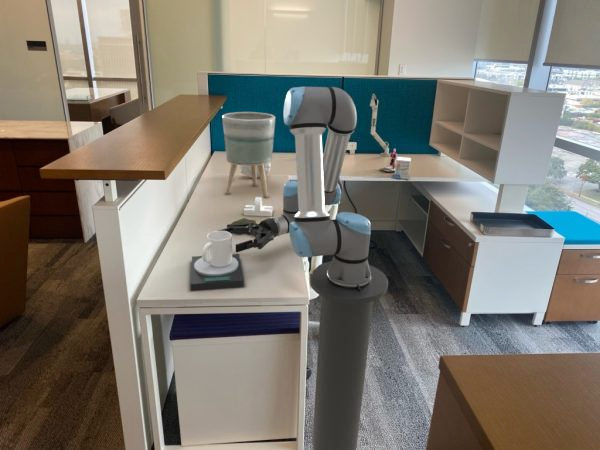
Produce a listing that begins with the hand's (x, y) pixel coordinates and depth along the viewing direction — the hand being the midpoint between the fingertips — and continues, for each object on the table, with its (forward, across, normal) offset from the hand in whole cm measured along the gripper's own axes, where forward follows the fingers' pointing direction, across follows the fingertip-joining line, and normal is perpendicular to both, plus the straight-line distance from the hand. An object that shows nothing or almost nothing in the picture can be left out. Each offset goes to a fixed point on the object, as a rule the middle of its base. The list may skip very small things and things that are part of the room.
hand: (224, 241), depth 153 cm
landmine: (-27, +25, -11) cm, 38 cm away
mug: (+4, 0, -8) cm, 9 cm away
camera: (-77, +86, -11) cm, 116 cm away
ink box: (-152, +34, -11) cm, 156 cm away
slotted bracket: (-43, +38, -11) cm, 58 cm away
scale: (+4, -1, -11) cm, 12 cm away
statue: (-157, +48, -11) cm, 164 cm away
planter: (-58, +66, -11) cm, 88 cm away
